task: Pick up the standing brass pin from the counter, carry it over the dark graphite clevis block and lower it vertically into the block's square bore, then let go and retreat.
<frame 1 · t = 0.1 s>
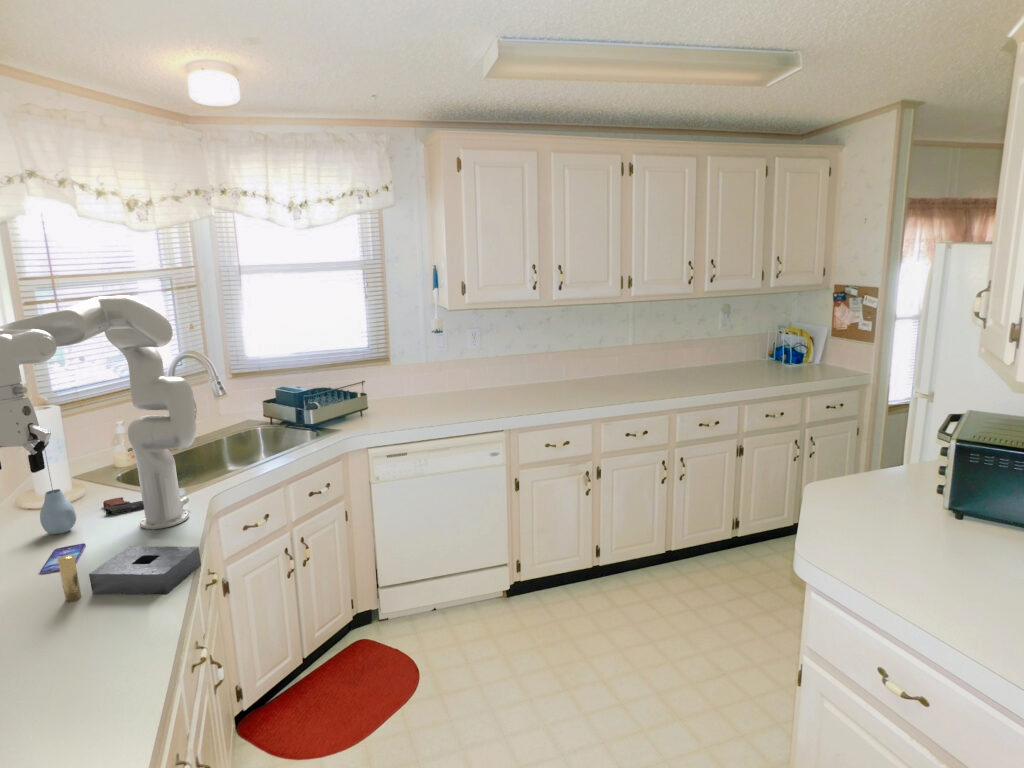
hand: (16, 471, 138), 31 cm above the countertop, tool pointing down, fingers open, 9 cm apart
brass pin: (73, 598, 145), on the countertop
clevis block: (149, 579, 153), on the countertop
pendant light: (61, 533, 182), on the countertop
handgun: (134, 507, 201), on the countertop
smartphone: (64, 561, 166), on the countertop
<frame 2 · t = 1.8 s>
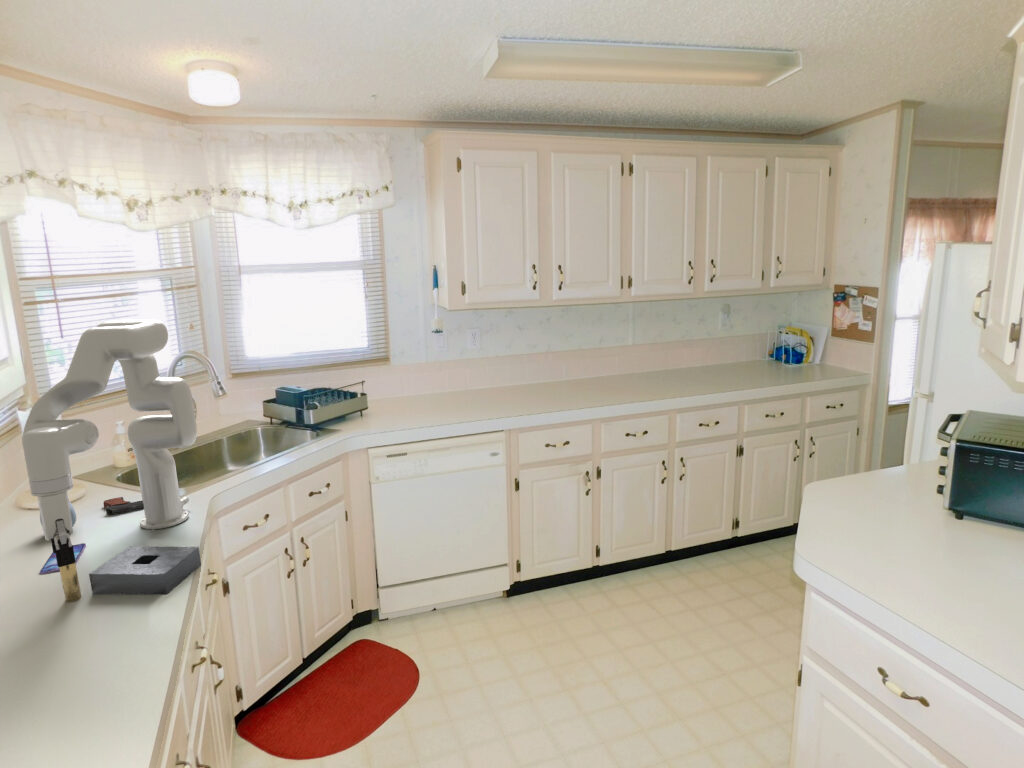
hand: (64, 557, 143), 10 cm above the countertop, tool pointing down, fingers open, 9 cm apart
nothing on the countertop moved.
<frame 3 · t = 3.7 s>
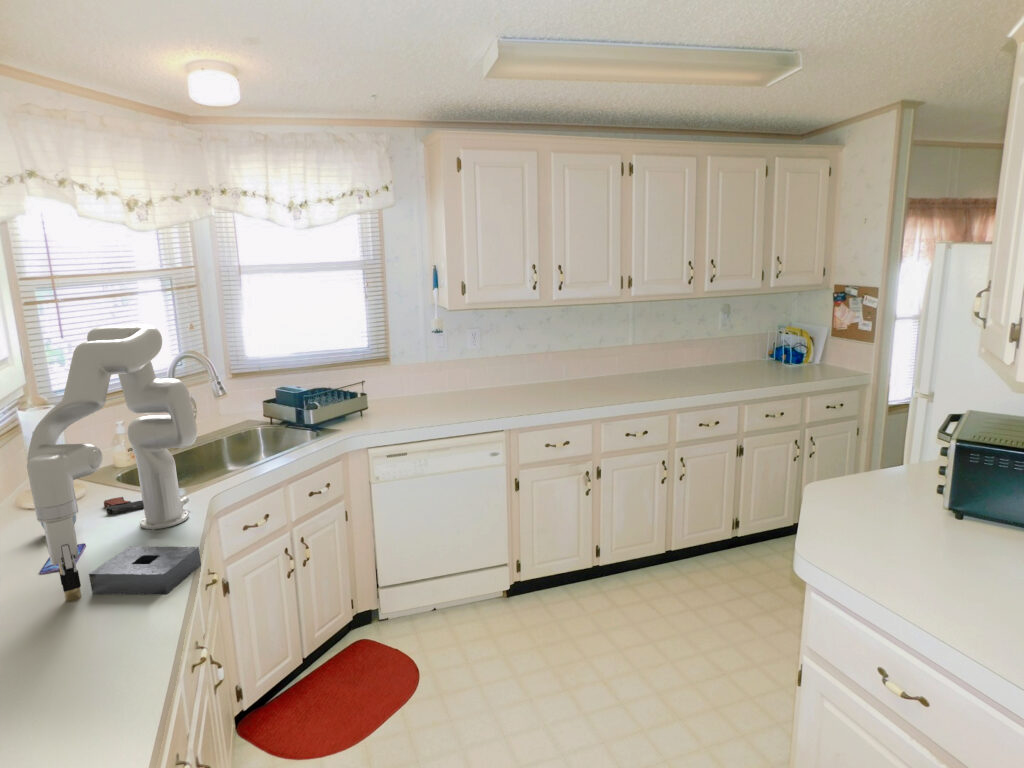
hand: (71, 585, 145), 3 cm above the countertop, tool pointing down, fingers closed on brass pin, 3 cm apart
brass pin: (73, 598, 145), on the countertop, touching gripper
everything else where it was.
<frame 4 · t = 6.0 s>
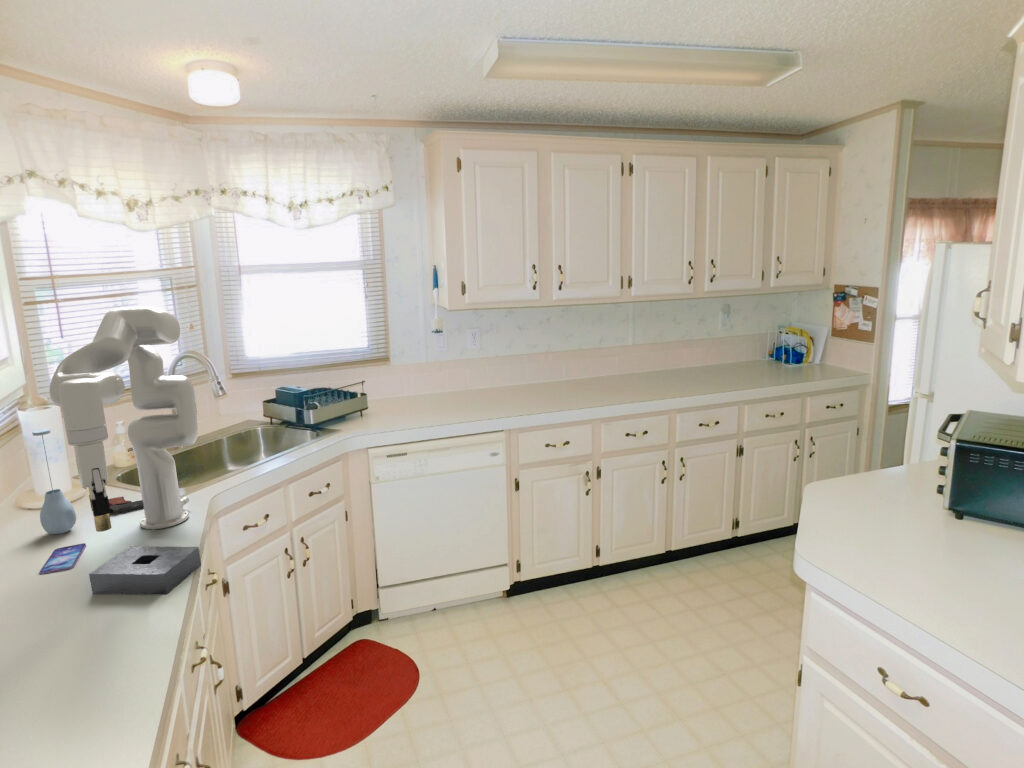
hand: (101, 511, 146), 19 cm above the countertop, tool pointing down, fingers closed on brass pin, 2 cm apart
brass pin: (103, 528, 147), point 15 cm above the countertop, touching gripper
everything else where it was.
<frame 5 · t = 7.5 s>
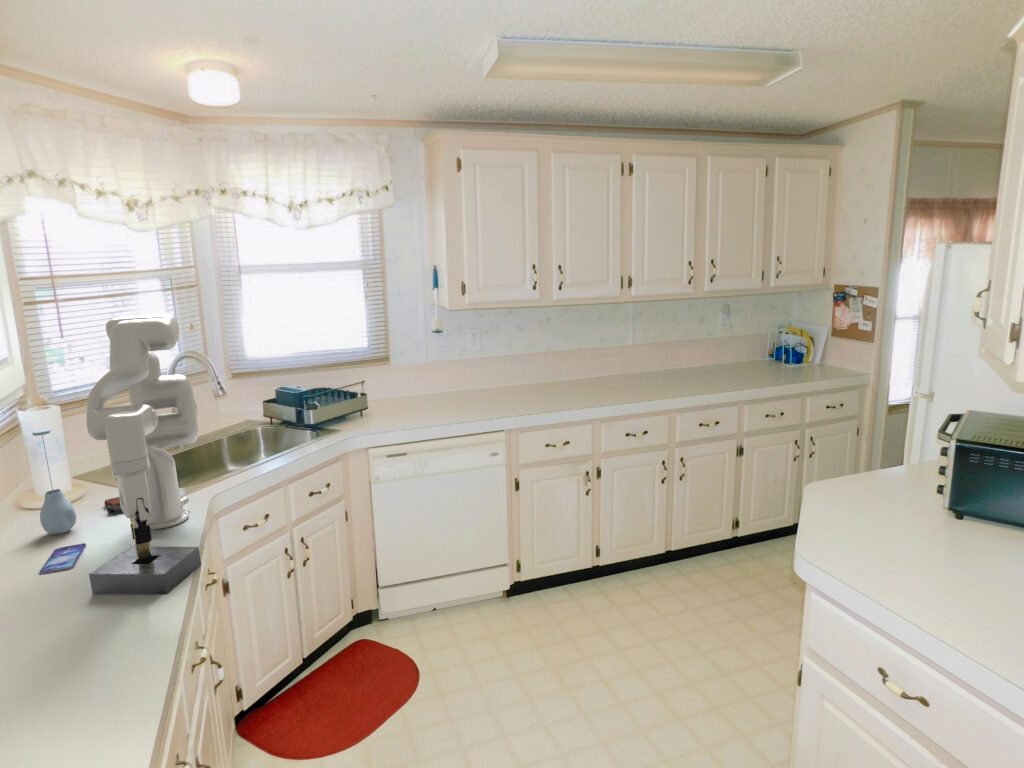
hand: (142, 539, 151), 10 cm above the countertop, tool pointing down, fingers closed on brass pin, 2 cm apart
brass pin: (144, 555, 151), point 6 cm above the countertop, touching gripper
everything else where it was.
when the fingers open (6 cm above the countertop, at t = 8.7 s): brass pin drops 2 cm, resting in clevis block.
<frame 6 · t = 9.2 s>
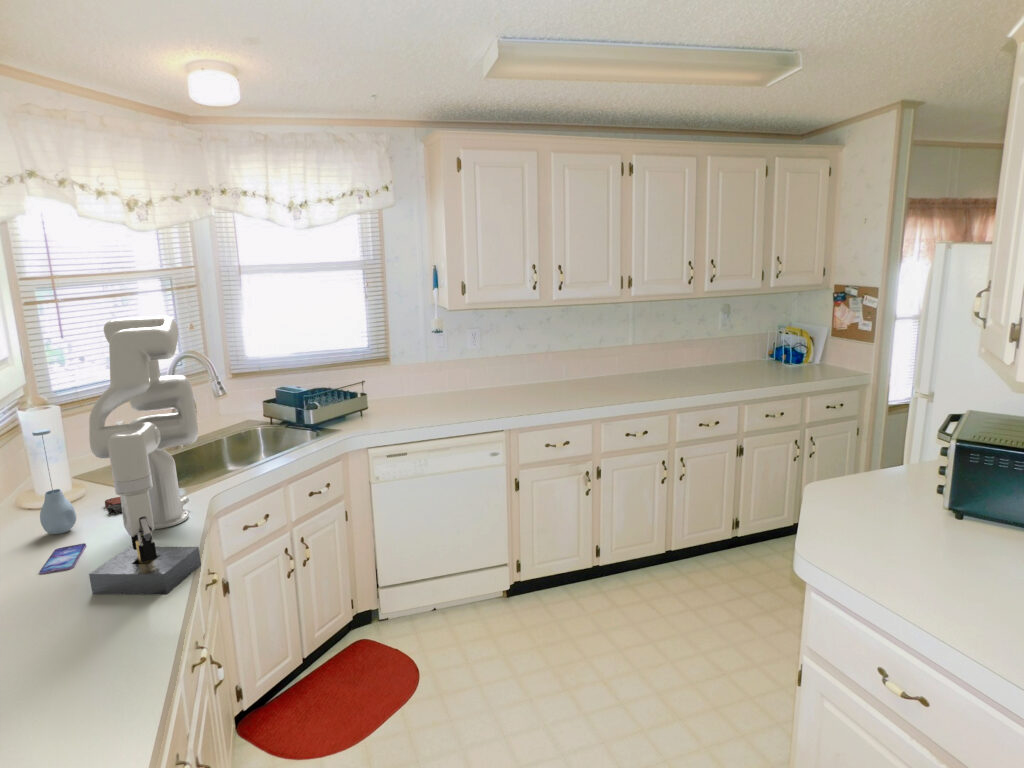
hand: (144, 553, 152), 7 cm above the countertop, tool pointing down, fingers open, 8 cm apart
brass pin: (148, 579, 153), resting in clevis block
everything else where it was.
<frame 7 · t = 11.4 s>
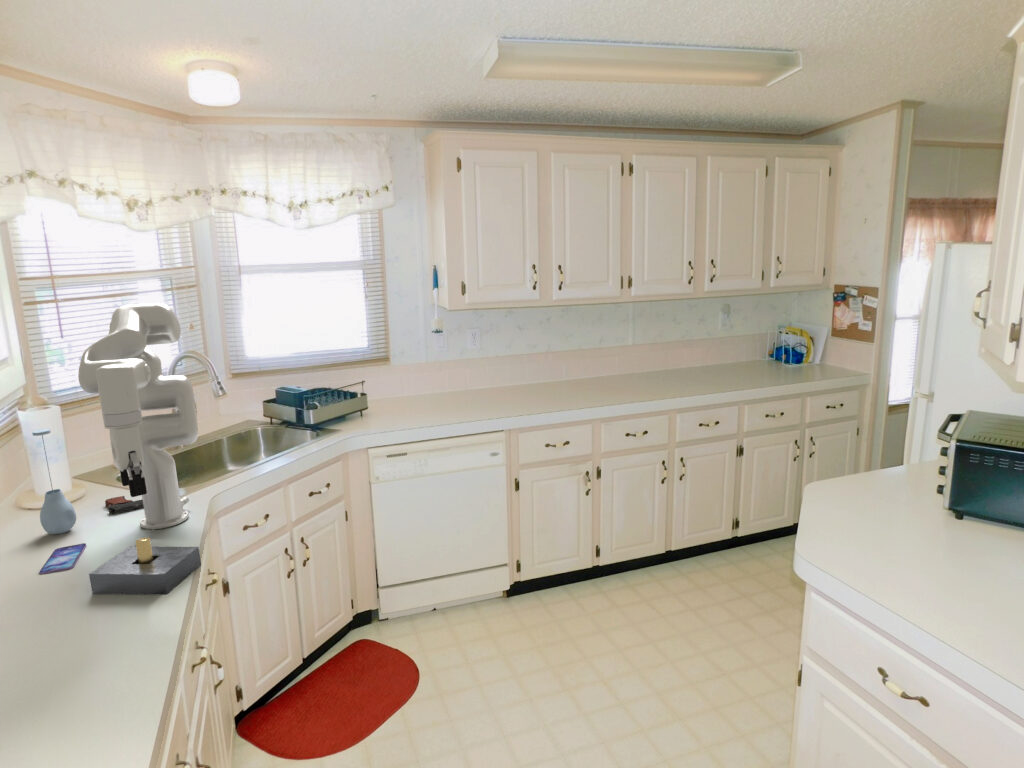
hand: (134, 489, 149), 22 cm above the countertop, tool pointing down, fingers open, 9 cm apart
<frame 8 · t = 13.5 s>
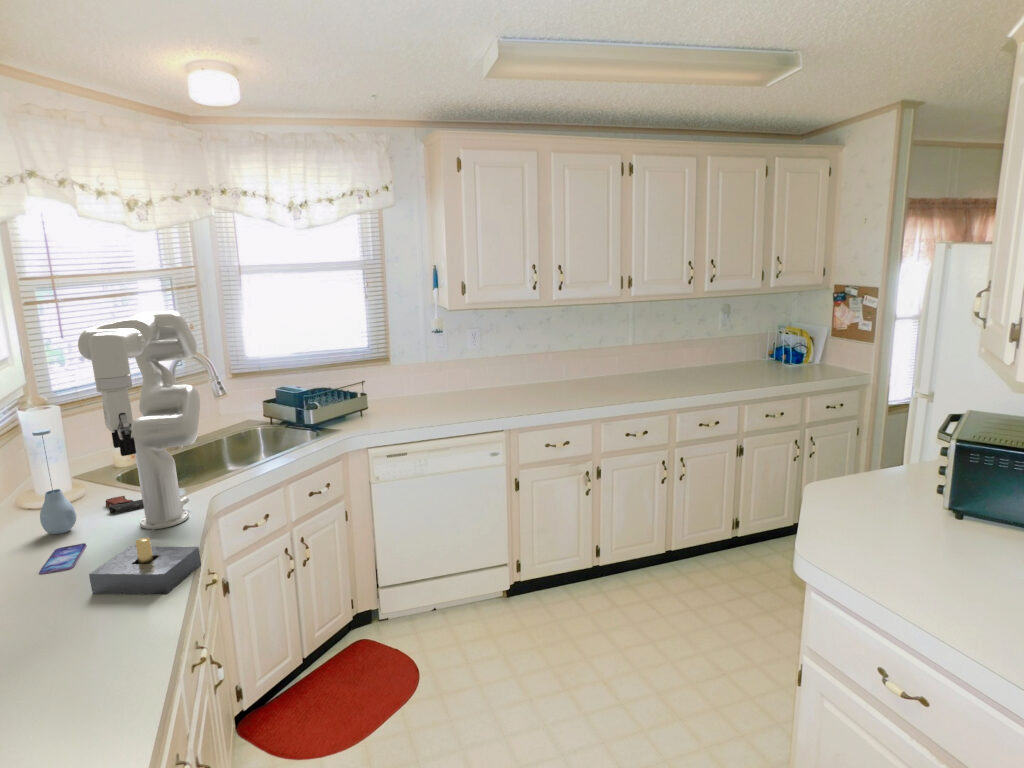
hand: (124, 450, 160), 28 cm above the countertop, tool pointing down, fingers open, 9 cm apart
at the end: brass pin 0.0 cm off-centre on the clevis block, point 0.0 cm above the clevis block's base; brass pin tilted 0°; the gripper is holding nothing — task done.
